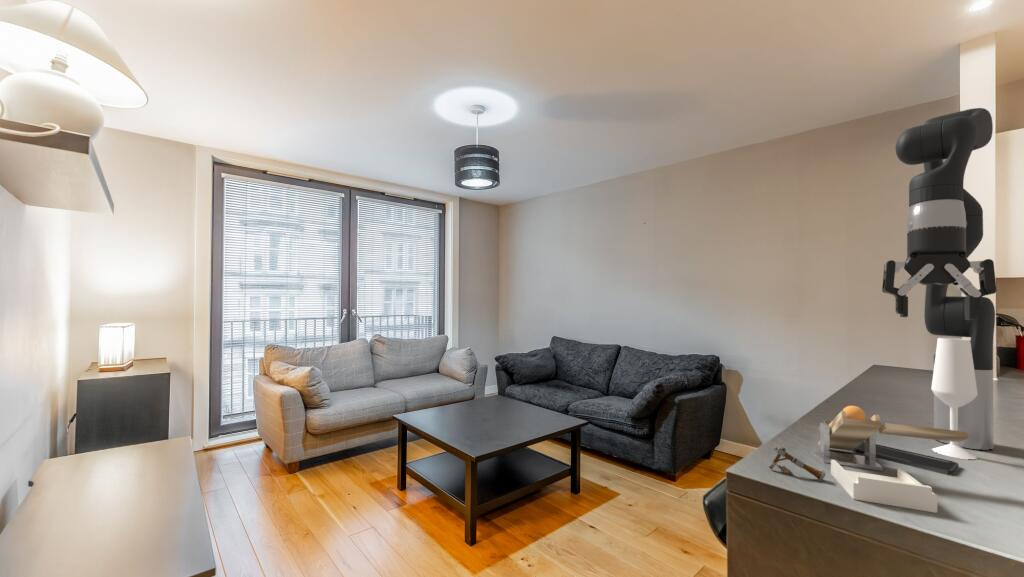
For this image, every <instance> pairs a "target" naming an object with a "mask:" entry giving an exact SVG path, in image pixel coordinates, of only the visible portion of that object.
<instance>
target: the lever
mask: <svg viewBox="0 0 1024 577" xmlns="http://www.w3.org/2000/svg"><path fill="white" fill-rule="evenodd" d="M822 423H826V424H827V425H828V426H830V440H829V449H833V450H843V451H849V452H852V450H853V449H854V448H856V447H857V446H858V445H860V444H861V443H862V442H865V440H866V439H867V438H869V437H870V436H871V435H873V434H874V433H875V432H879V434H883V435H893V436H899V437H908V438H917V439H927V440H933V441H935V440H936V441H938V440H942V441H951V442H962V441H964V440H966V439H968V438H969V436H968V433H967V432H965V431H956V430H946V429H937V428H934V427H926V426H925V427H924V426H916V425H909V424H908V425H907V424H899V423H889V422H888V423H887V422H884V423H883V424H882V421H881V416H880V415H879V414H873V415H872V416H871V417H870V418H869V419H865V420H862V419H852V418H847V417H846V412H845V411H843V410H841V411H840V412H838V414H837V415H836V416H835V417H834V419H832V420H823V422H822ZM818 433H819V435H820V425H819V426H818ZM817 444H818V448H820V440H819V441H818V442H817Z"/></svg>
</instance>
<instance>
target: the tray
mask: <svg viewBox="0 0 1024 577" xmlns="http://www.w3.org/2000/svg"><path fill="white" fill-rule="evenodd" d="M896 470H897V472H896V473H897V477H893V476H886V475H880V474H873V473H868V472H867V473H866V472H860V471H854V470H847V469H846V470H845V469H844V468H843V466H842V465H839V464H838V463H837V462H836V461H835V460H831V463H830V474H831V475H832V477H833V478H834V479H835V480H836V481H837V482H838V483H839V484H840V486H841V487H842V488H843V489H844V490H845V491H846V493H847V494H848V495H849V496H850V497H851V498H852V499H853V500H858V501H862V502H868V503H875V504H881V505H886V506H893V507H897V508H903V509H904V508H905V509H910V510H917V511H923V512H930V513H935V514H938V495H937V494H936V493H934V492H933V488H932V487H931V486H930V485H927V484H926V485H924V484H923V483H921V482H920V481H918V479H916V478H914V477H913V476H912V475H910V474H909V473H908V472H906V471H905V470H903V469H902V468H897V469H896Z"/></svg>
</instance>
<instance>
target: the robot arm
mask: <svg viewBox="0 0 1024 577" xmlns="http://www.w3.org/2000/svg"><path fill="white" fill-rule="evenodd" d="M992 136H993V117H992V115H991V112H990V111H989V110H988V109H986V108H984V107H977V108H974V107H973V108H968V109H965V110H961V111H960V110H959V111H955V112H952V113H947V114H944V115H939V116H936V117H932V118H929V119H927V120H926V121H925V122H924V123H923V124H921V125H917V126H914V127H909V128H907V129H906V130H904V131H903V132H902V133H901V134H899V136H898V138H897V140H896V143H895V154H896V156H897V158H898V160H899V161H901V163H903V164H905V165H909V166H912V165H913V166H915V165H920V164H921V165H922V164H923V170H924V172H922V173H921V172H920V173H919V174H917V175H915V176H914V177H912V178H911V179H910V181H909V184H908V214H907V218H906V219H907V220H906V259H905V261H895V260H893V259H892V260H891V259H890V260H888V261H886V262H885V263H884V265H883V276H882V285H881V286H882V287H881V291H882V293H883V294H889V295H892V296H894V297H895V313H896V314H897V315H898V314H899V316H900V318H908V317H909V296H907V294H908V293H909V292H910V291H912V289H913V288H914V287H916V286H917V285H918V284H920V285H921V286H925V298H924V299H925V300H924V324H925V328H926V330H927V332H928V333H929V334H931V335H933V336H942V337H943V336H944V337H955V338H957V337H959V338H960V337H961V338H970V339H969V340H970V343H971V350H972V357H973V365H974V372H975V379H976V386H977V393H978V394H977V396H976V398H975V399H974V400H972V401H971V402H969V403H968V404H966V405H964V406H962V407H958V431H965V432H967V433H968V436H969V438H968V439H966V440H964V441H962V442H958V446H960V447H962V448H964V449H965V448H966V449H972V450H973V449H974V450H980V449H981V450H982V451H990V450H989V449H992V450H994V449H995V448H994V443H995V442H994V430H995V429H994V425H995V424H994V423H995V422H994V421H995V420H994V411H995V410H994V409H995V408H994V406H995V405H994V338H995V337H994V336H995V335H994V332H995V326H996V324H995V322H996V308H995V305H994V303H993V301H992V299H990V298H989V297H986V296H989V295H994V294H996V293H997V282H996V272H995V265H994V264H995V263H994V260H993V259H990V258H987V259H984V260H978V261H976V260H975V261H970V260H969V259H968V258H969V257H970V256H971V255H972V254H973V252H974V251H975V250H976V249H977V248H978V246H979V245H980V243H981V242H982V241H983V240H982V239H983V238H984V217H983V216H984V215H983V214H984V211H983V207H982V205H981V204H980V202H979V201H978V200H977V199H976V198H975V197H974V196H973V195H972V194H971V193H970V192H968V190H966V189H965V188H964V180H965V179H964V178H965V173H966V169H967V165H968V163H969V160H970V157H971V155H972V154H973V153H972V152H973V151H976V150H979V149H982V148H984V147H986V146H987V145H988V144H989V143H990V141H991V140H992ZM902 268H903V269H904V270H905V271H906V272H907V273H908V274H909V276H910V277H909V278H908V279H907V280H906V281H905V282H903V284H902V285H901V286H899V288H898V287H895V277H896V275H895V274H897V273H899V272H900V271H901V269H902ZM969 268H971V269H972V270H973V272H974V273H975V274H978V282H979V289H978V288H977V287H976V286H975V285H973V283H972V281H970V280H969V279H968V278H967V277H966V276H965V275H964V274H965V273H966V271H968V270H969ZM949 285H952V286H953V287H954V288H955V289H956V290H959V291H960V292H961V293H962V294H963V295H964V296H949V295H947V292H948V287H949ZM935 356H936V352H935V354H934V355H933V364H934V363H935ZM933 428H937V429H946V430H950V406H948V405H946V404H945V403H944V402H942V401H941V400H940V399H939V398H938V397H937V396H936V395H935V394H934V393H933ZM937 441H939V442H941V443H945V444H946V445H947V444H950V441H942V440H937ZM993 448H994V449H993Z"/></svg>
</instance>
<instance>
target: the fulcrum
mask: <svg viewBox="0 0 1024 577" xmlns="http://www.w3.org/2000/svg"><path fill="white" fill-rule="evenodd" d="M819 426H820V434H819V439H820V440H819V441H820V447H819V449H814V453H815V455H817V456H818V458H819V459H820V460H821V461H822V462H823V463H826V464H831V460H835V461H836V462H837V463H838V464H839V465H840V466H847V467H853V468H860V469H867V470H876V471H881V472H883V470H884V467H883V466H881V465H880V464H879V463H878V462H877V460H876V459H877V458H876V444H877V442H876V440H877V439H876V436H877V434H876V432H877V431H876V432H875V433H874V434H873V435H871V436H870V437H869V438H867V439H866V440H865V441H864V442H865V455H861V454H860V455H859V454H852V453H844V452H835V451H830V448H829V440H830V426H828V425H827V424H826V423H823V422H820V424H819Z"/></svg>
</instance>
